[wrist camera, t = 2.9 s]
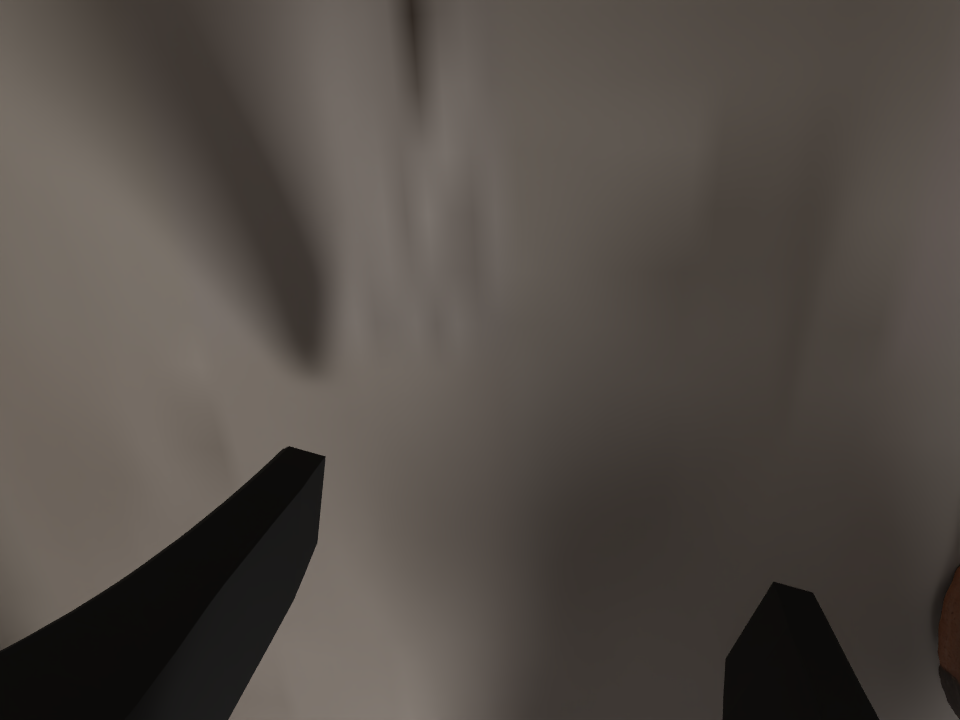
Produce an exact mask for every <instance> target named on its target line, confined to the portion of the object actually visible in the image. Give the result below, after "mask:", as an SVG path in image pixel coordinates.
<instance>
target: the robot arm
mask: <svg viewBox="0 0 960 720" xmlns="http://www.w3.org/2000/svg"><path fill="white" fill-rule="evenodd" d="M325 457H326V456H322V455H318V454H315V453H311V452H308V451H304V450H300V449H297V448H293V447H290V446H289V447H287V448H285V449H282V450H281V451H280V452H279V453H278V454H277V455H276V456H275V457H274V458H273V459H272V460H271V461H270V462H269V463H267V464H266V465H265V466H264V467H263V468H262V469H261V470H260V471H259V472H258V473H257V474H256V475H254V476H253V477H252V478H251V479H250V480H249V481H248V482H247V483H245V484H244V485H243V486H242V487H241V488H240V489H239V490H237V491H236V492H235V493H234V494H233V495H232V496H231V497H229V498H228V499H227V500H226V501H225V502H224V503H222V504H221V505H220V506H219V507H217V508H216V509H215V510H214V511H212V512H211V513H210V514H209V515H208V516H206V517H205V518H204V519H203V520H201V521H200V522H199V523H198V524H196V525H195V526H194V527H193V528H191V529H190V530H189V531H188V532H186V533H185V534H184V535H183V536H181V537H180V538H179V539H177V540H176V541H175V542H173V543H172V544H170V545H169V546H168V547H166V548H165V549H164V550H162V551H161V552H160V553H158V554H157V555H155V556H154V557H153V558H151V559H150V560H149V561H147V562H146V563H144V564H143V565H142V566H140V567H139V568H138V569H136V570H135V571H133V572H132V573H130V574H129V575H127V576H126V577H124V578H123V579H121V580H120V581H118V582H117V583H116V584H114V585H112V586H111V587H109V588H108V589H106V590H105V591H103V592H102V593H100V594H99V595H97V596H95V597H94V598H92V599H90V600H89V601H87V602H86V603H84V604H82V605H81V606H79V607H78V608H76V609H74V610H73V611H71V612H69V613H68V614H66V615H64V616H62V617H61V618H59V619H57V620H55V621H54V622H52V623H50V624H48V625H47V626H45V627H43V628H41V629H40V630H38V631H36V632H34V633H33V634H31V635H29V636H27V637H26V638H24V639H22V640H20V641H18V642H16V643H14V644H13V645H11V646H9V647H7V648H5V649H3V650H1V651H0V720H228V719H229V717H230V715H231V714H232V712H233V710H234V708H235V706H236V705H237V703H238V701H239V699H240V697H241V695H242V694H243V692H244V690H245V688H246V686H247V685H248V683H249V681H250V679H251V677H252V675H253V674H254V672H255V670H256V668H257V666H258V665H259V663H260V661H261V659H262V657H263V655H264V654H265V652H266V650H267V648H268V646H269V645H270V643H271V641H272V639H273V637H274V635H275V634H276V632H277V630H278V628H279V626H280V624H281V623H282V621H283V619H284V617H285V615H286V613H287V611H288V610H289V608H290V606H291V604H292V602H293V600H294V598H295V596H296V593H297V591H298V589H299V586H300V584H301V581H302V579H303V577H304V574H305V572H306V569H307V567H308V564H309V562H310V559H311V557H312V554H313V552H314V549H315V547H316V544H317V541H318V530H319V520H320V509H321V499H322V488H323V478H324V467H325ZM723 720H879V718H878V716H877V714H876V712H875V711H874V709H873V707H872V705H871V703H870V702H869V700H868V698H867V696H866V694H865V692H864V690H863V689H862V687H861V685H860V683H859V681H858V679H857V677H856V675H855V673H854V671H853V669H852V668H851V666H850V664H849V662H848V660H847V658H846V656H845V654H844V652H843V650H842V648H841V646H840V644H839V642H838V640H837V638H836V636H835V634H834V633H833V631H832V629H831V627H830V625H829V623H828V621H827V619H826V617H825V615H824V613H823V611H822V609H821V607H820V605H819V603H818V601H817V600H816V598H815V596H814V594H813V593H812V592H809V591H805V590H801V589H798V588H794V587H791V586H787V585H784V584H780V583H776V582H773V583H772V585H771V587H770V588H769V590H768V591H767V593H766V595H765V596H764V598H763V600H762V601H761V603H760V604H759V606H758V608H757V609H756V611H755V612H754V614H753V616H752V617H751V619H750V620H749V622H748V624H747V625H746V627H745V629H744V630H743V632H742V633H741V635H740V637H739V638H738V640H737V641H736V643H735V645H734V646H733V648H732V650H731V651H730V653H729V654H728V656H727V658H726V662H725V679H724V696H723Z"/></svg>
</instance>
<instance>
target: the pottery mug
mask: <svg viewBox="0 0 960 720" xmlns="http://www.w3.org/2000/svg"><path fill="white" fill-rule="evenodd" d="M938 656H939V660H940V665H939V676H940V679H941V684H942V687H943V690H944V692H945V695H946V698H947V701H948V703H949V705H950V706H951V708H952V709H953V711H954V712H955V714H956V715H957V716H958V718H959V719H960V566H959V567H958V568H957V570H956V571H955V574H954V577H953V580H952V583H951V585H950V587H949V588H948V590H947V593H946V595H945V597H944V602H943V608H942V614H941V618H940V622H939V628H938Z"/></svg>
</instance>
